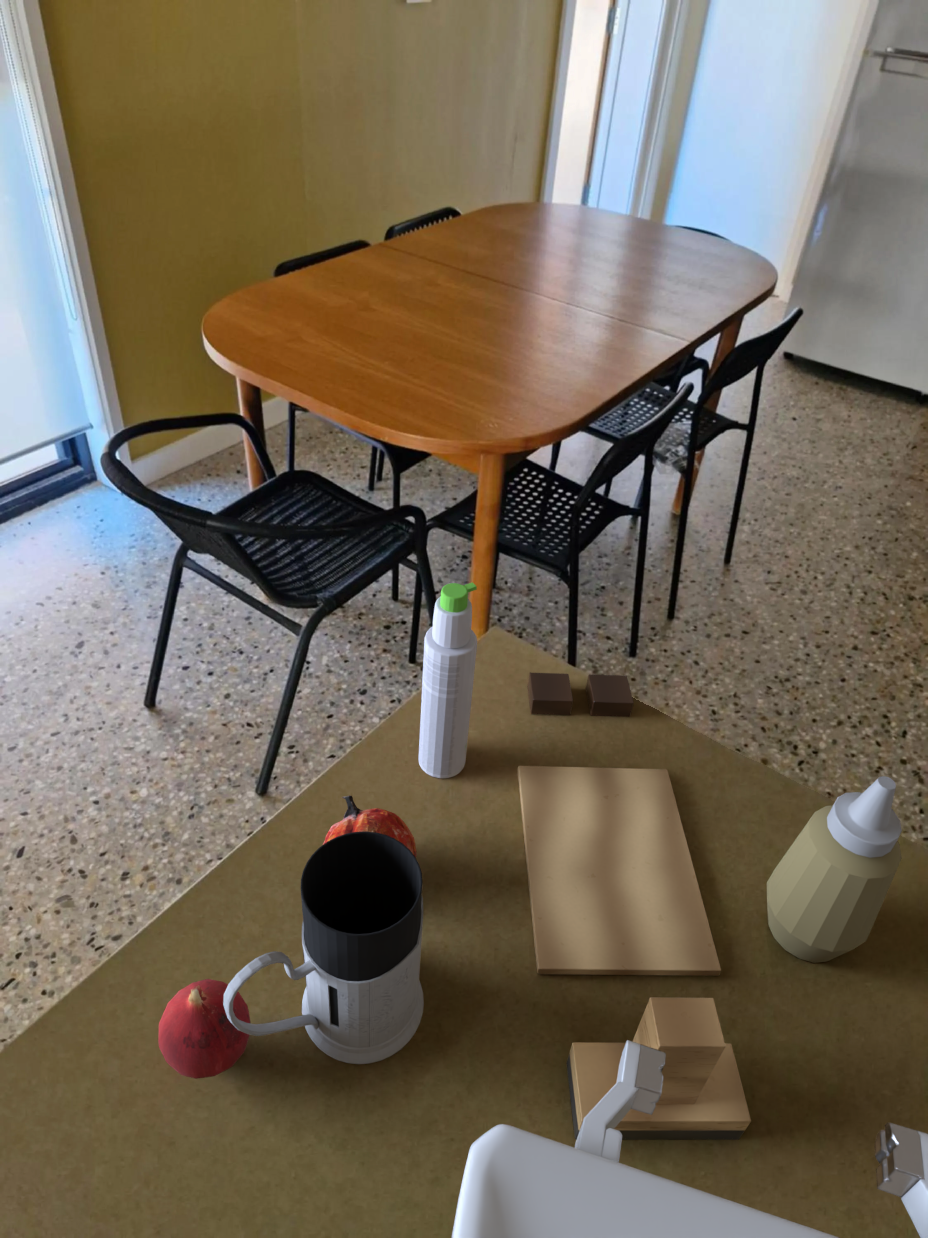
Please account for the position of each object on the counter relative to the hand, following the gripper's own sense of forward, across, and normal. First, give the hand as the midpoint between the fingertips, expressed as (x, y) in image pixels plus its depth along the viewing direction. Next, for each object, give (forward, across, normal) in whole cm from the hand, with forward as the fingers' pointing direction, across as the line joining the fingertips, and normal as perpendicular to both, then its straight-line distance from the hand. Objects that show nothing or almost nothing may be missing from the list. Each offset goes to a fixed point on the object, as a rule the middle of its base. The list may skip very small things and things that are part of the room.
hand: (769, 1092), depth 33 cm
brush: (+12, 0, +29) cm, 31 cm away
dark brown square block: (+50, +9, +29) cm, 58 cm away
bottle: (+36, +23, +29) cm, 52 cm away
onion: (+6, +30, +29) cm, 42 cm away
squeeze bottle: (+29, -10, +29) cm, 42 cm away
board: (+30, +6, +29) cm, 42 cm away
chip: (+48, +15, +29) cm, 58 cm away
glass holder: (+10, +23, +29) cm, 38 cm away
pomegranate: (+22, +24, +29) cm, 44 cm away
